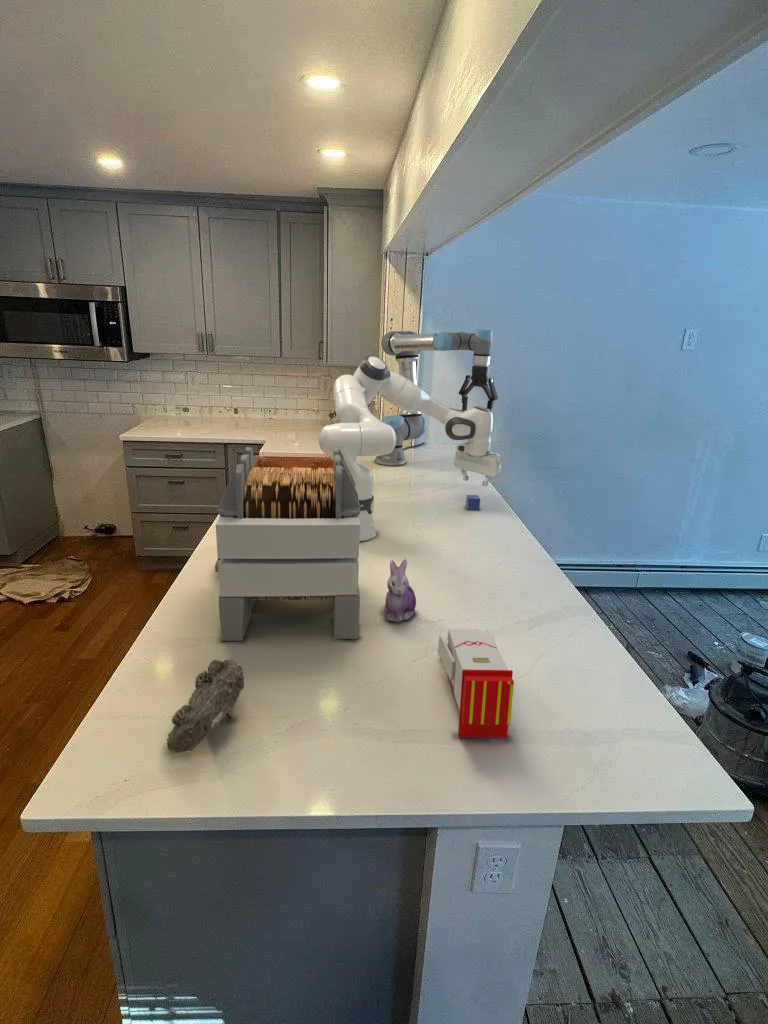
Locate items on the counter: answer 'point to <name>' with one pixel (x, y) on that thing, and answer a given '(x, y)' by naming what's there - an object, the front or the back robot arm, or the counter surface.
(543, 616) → the counter surface
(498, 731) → the toy
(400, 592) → the figurine
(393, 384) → the front robot arm
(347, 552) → the transformer
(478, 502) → the block
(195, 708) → the fossil
